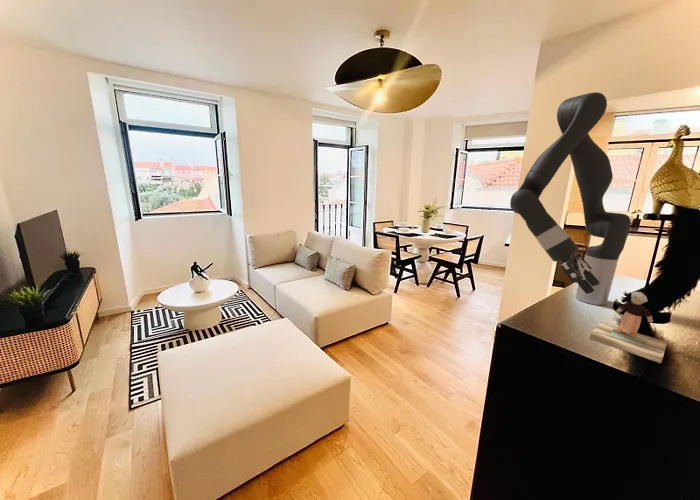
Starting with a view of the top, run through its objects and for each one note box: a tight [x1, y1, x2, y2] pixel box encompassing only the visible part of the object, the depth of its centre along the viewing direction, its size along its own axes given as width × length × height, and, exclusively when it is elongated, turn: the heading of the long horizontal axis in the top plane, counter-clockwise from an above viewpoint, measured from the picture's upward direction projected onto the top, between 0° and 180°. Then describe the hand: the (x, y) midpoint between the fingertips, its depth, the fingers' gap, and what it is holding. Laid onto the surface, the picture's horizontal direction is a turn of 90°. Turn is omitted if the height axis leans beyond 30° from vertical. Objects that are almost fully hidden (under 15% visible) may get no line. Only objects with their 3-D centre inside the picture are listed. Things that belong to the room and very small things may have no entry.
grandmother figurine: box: [615, 291, 654, 338], centre depth 79 cm, size 8×4×13 cm, turn 35°
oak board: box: [589, 321, 668, 364], centre depth 79 cm, size 12×14×2 cm
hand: (593, 288), depth 84 cm, fingers open, 8 cm apart
